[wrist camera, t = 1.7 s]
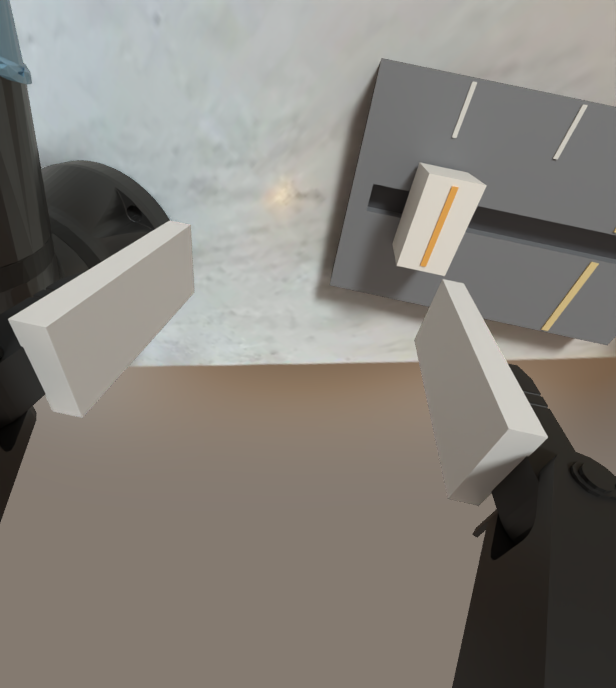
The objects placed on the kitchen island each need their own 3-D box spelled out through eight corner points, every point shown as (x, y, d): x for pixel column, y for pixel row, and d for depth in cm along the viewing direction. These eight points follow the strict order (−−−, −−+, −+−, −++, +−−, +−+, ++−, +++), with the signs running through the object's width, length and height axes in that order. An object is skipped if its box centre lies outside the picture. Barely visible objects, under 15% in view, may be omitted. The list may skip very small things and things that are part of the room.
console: (332, 271, 32) (329, 285, 30) (380, 62, 23) (382, 57, 20) (589, 327, 32) (607, 346, 30) (749, 139, 22) (797, 144, 20)
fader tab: (391, 237, 28) (396, 266, 23) (416, 159, 24) (429, 173, 19) (431, 246, 28) (445, 276, 23) (462, 169, 24) (487, 185, 19)
